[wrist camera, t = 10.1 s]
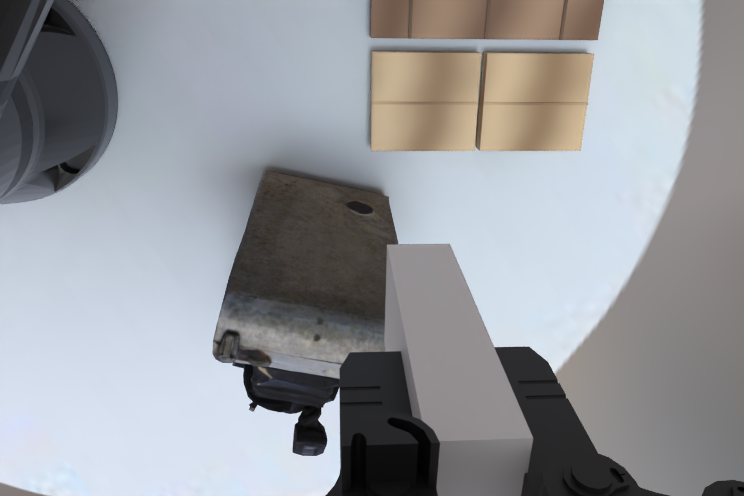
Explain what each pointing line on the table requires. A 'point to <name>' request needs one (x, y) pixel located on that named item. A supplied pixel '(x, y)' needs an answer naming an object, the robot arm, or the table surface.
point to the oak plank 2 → (533, 101)
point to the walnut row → (486, 19)
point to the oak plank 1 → (424, 100)
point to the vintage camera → (305, 295)
